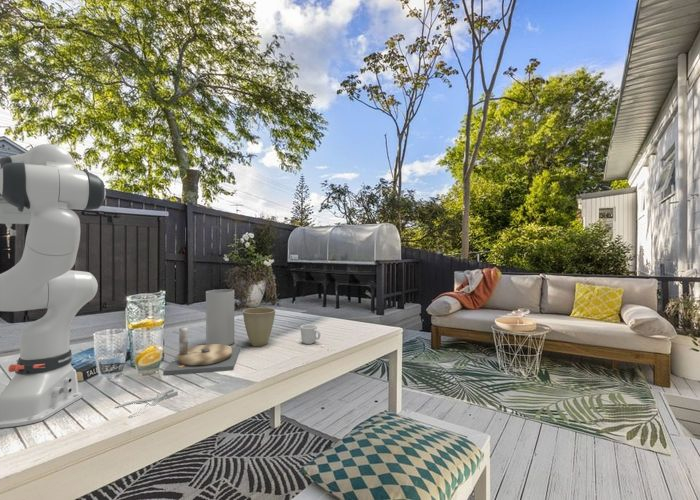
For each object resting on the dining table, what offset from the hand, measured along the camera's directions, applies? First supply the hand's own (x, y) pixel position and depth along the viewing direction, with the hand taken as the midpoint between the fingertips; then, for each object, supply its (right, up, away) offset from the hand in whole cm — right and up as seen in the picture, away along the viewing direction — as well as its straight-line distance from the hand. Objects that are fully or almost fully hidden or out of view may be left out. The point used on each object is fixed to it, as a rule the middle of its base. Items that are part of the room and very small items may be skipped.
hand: (30, 235), depth 126 cm
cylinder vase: (+58, -50, +33) cm, 84 cm away
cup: (+101, -50, +35) cm, 118 cm away
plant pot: (+77, -50, +33) cm, 98 cm away
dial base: (+62, -50, +9) cm, 80 cm away
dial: (+62, -48, +9) cm, 79 cm away
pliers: (+60, -52, -26) cm, 83 cm away
